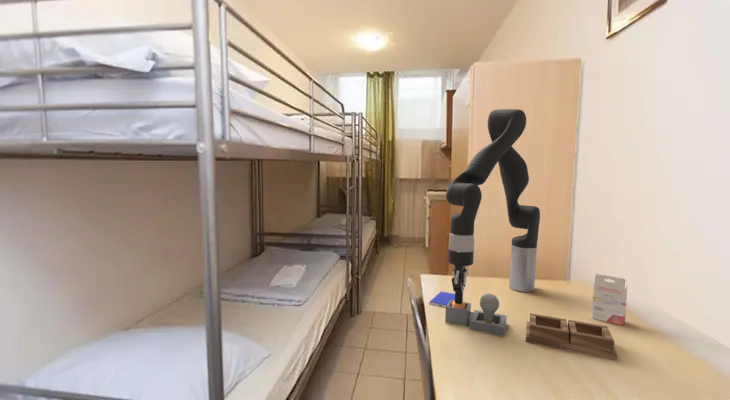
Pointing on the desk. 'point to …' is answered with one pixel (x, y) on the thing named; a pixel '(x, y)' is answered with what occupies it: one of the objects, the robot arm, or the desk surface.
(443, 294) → the blue book
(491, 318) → the light bulb
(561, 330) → the bulb rack
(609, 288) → the ink cartridge box
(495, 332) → the bulb socket block
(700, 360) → the desk surface
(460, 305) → the orange ball
